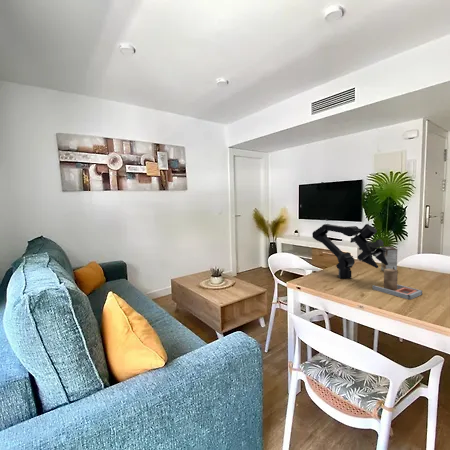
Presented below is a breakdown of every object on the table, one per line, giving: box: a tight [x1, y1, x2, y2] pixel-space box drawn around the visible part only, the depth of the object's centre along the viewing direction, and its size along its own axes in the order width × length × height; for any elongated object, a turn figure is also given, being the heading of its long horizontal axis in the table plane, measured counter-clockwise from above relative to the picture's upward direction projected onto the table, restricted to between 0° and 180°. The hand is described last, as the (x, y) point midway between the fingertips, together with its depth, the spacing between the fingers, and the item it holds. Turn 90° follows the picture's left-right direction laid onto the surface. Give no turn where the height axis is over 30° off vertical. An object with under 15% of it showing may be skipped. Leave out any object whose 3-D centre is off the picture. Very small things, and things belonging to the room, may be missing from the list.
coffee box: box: [380, 246, 398, 272], centre depth 164 cm, size 9×6×16 cm
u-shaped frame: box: [372, 283, 423, 301], centre depth 131 cm, size 18×12×2 cm, turn 29°
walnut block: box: [383, 268, 398, 291], centre depth 133 cm, size 4×4×11 cm
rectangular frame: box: [396, 287, 416, 295], centre depth 127 cm, size 6×9×2 cm, turn 119°
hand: (382, 266), depth 136 cm, fingers open, 9 cm apart
